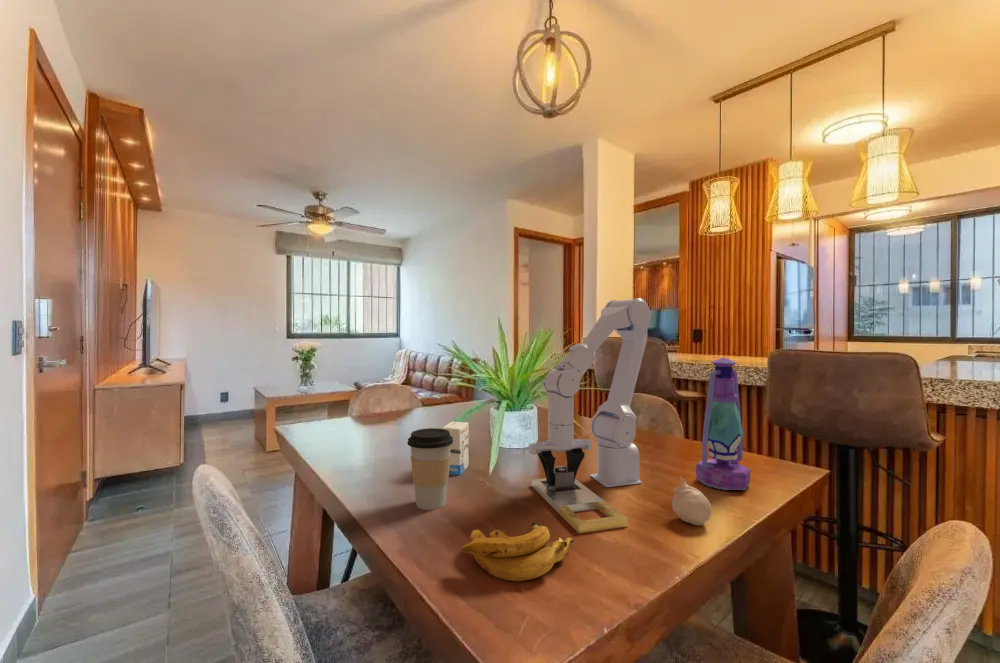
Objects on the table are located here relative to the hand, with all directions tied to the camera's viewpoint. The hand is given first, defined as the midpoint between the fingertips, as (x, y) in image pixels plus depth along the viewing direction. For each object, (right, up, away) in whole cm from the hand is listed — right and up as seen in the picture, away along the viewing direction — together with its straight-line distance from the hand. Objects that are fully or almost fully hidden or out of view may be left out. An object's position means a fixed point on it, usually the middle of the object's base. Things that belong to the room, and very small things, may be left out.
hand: (560, 483), depth 97 cm
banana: (-11, -3, -28) cm, 30 cm away
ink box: (-25, -2, +15) cm, 29 cm away
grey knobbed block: (0, -2, 0) cm, 2 cm away
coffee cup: (-28, -2, -7) cm, 29 cm away
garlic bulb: (+23, -2, -15) cm, 27 cm away
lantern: (+39, -2, +5) cm, 40 cm away
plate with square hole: (+2, -2, -7) cm, 7 cm away
